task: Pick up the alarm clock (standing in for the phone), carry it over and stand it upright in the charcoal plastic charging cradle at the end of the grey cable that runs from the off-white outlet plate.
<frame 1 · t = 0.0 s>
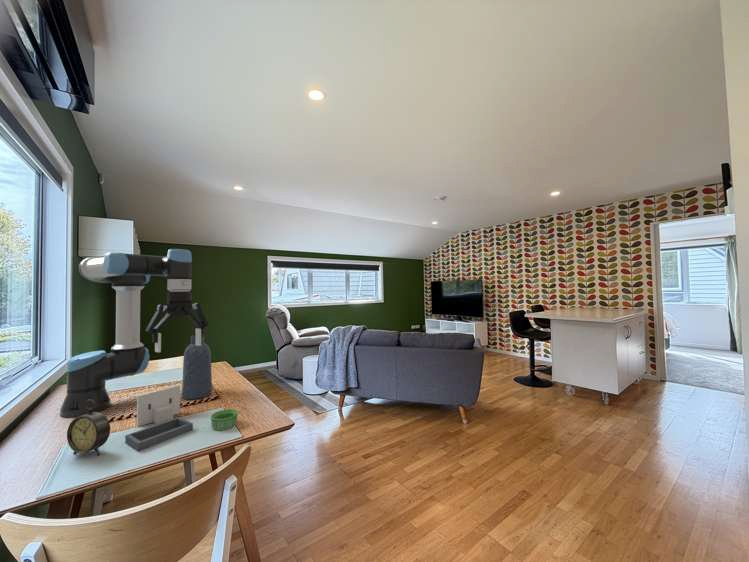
hand: (179, 348, 109), 28 cm above the table, fingers open, 13 cm apart
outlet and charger: (163, 420, 112), on the table
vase: (197, 396, 139), on the table
alarm clock: (90, 453, 91), on the table
ramekin: (224, 426, 108), on the table
dock: (160, 436, 100), on the table
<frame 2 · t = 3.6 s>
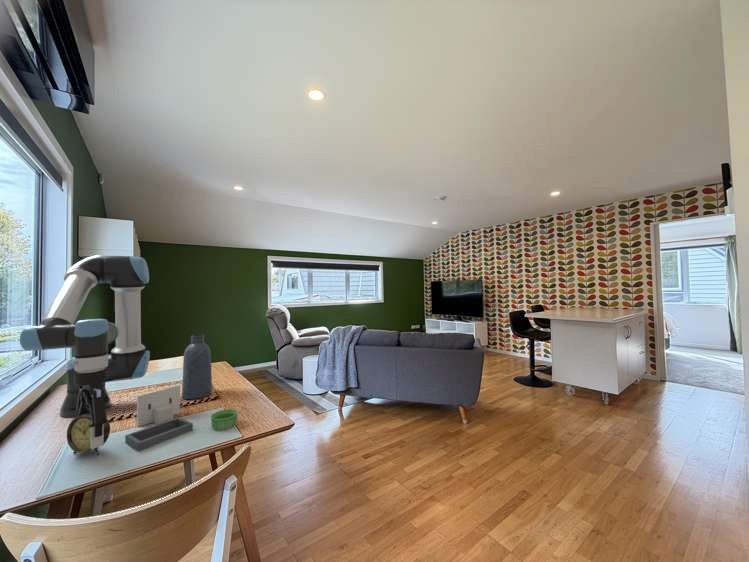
hand: (90, 441, 91), 3 cm above the table, fingers closed on alarm clock, 11 cm apart
alarm clock: (89, 453, 91), on the table, touching gripper
everything else where it was.
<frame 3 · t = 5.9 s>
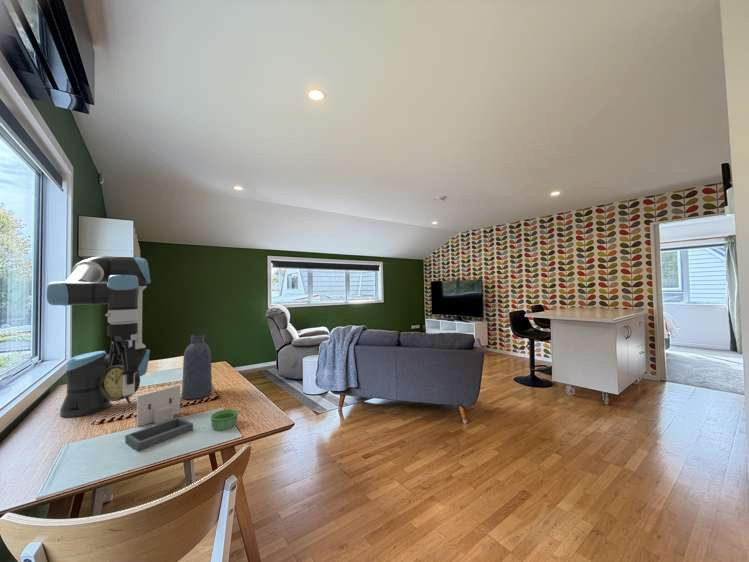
hand: (122, 391, 95), 17 cm above the table, fingers closed on alarm clock, 11 cm apart
alarm clock: (121, 402, 95), point 14 cm above the table, touching gripper
everything else where it was.
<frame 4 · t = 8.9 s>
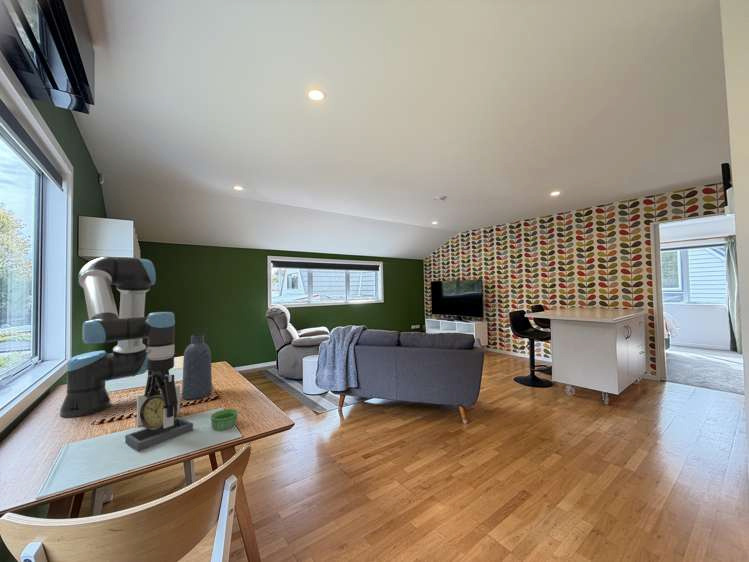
hand: (160, 422, 101), 5 cm above the table, fingers closed on alarm clock, 11 cm apart
alarm clock: (160, 431, 100), point 2 cm above the table, touching gripper
everything else where it was.
when the fingers open (5 cm above the table, at t = 9.9 s): alarm clock stays where it is, resting on dock.
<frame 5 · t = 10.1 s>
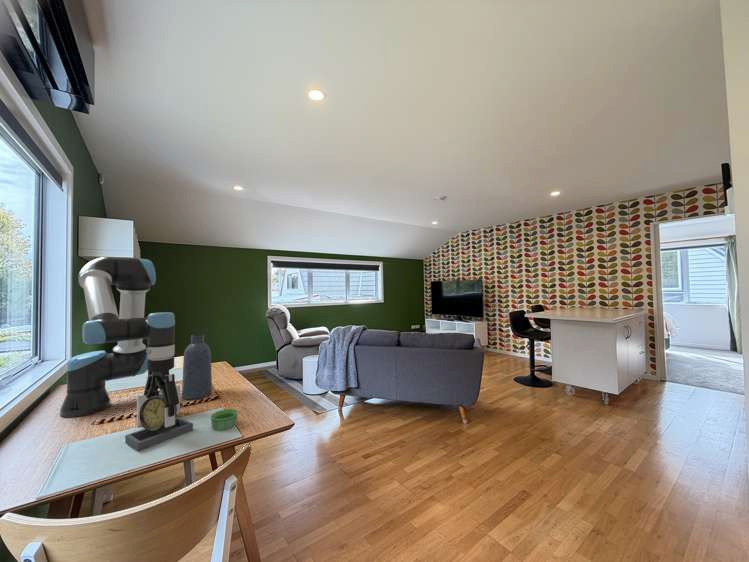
hand: (160, 421, 101), 5 cm above the table, fingers open, 13 cm apart
alarm clock: (161, 432, 100), point 2 cm above the table, touching dock, gripper
everything else where it was.
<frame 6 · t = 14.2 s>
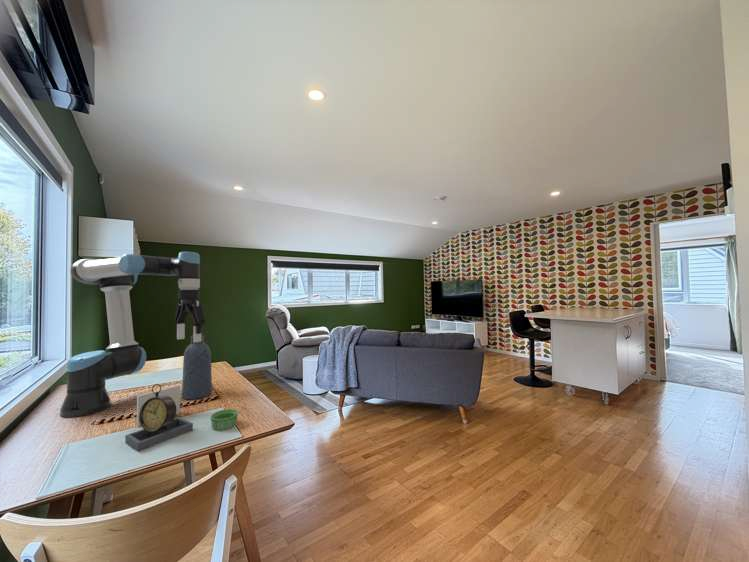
hand: (188, 340, 123), 29 cm above the table, fingers open, 13 cm apart
alarm clock: (161, 433, 100), point 1 cm above the table, touching dock
everything else where it was.
at the end: alarm clock inside the target area on the dock (0.6 cm from its centre), point 1.2 cm above the dock's base; alarm clock tilted 18°; the gripper is holding nothing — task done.
